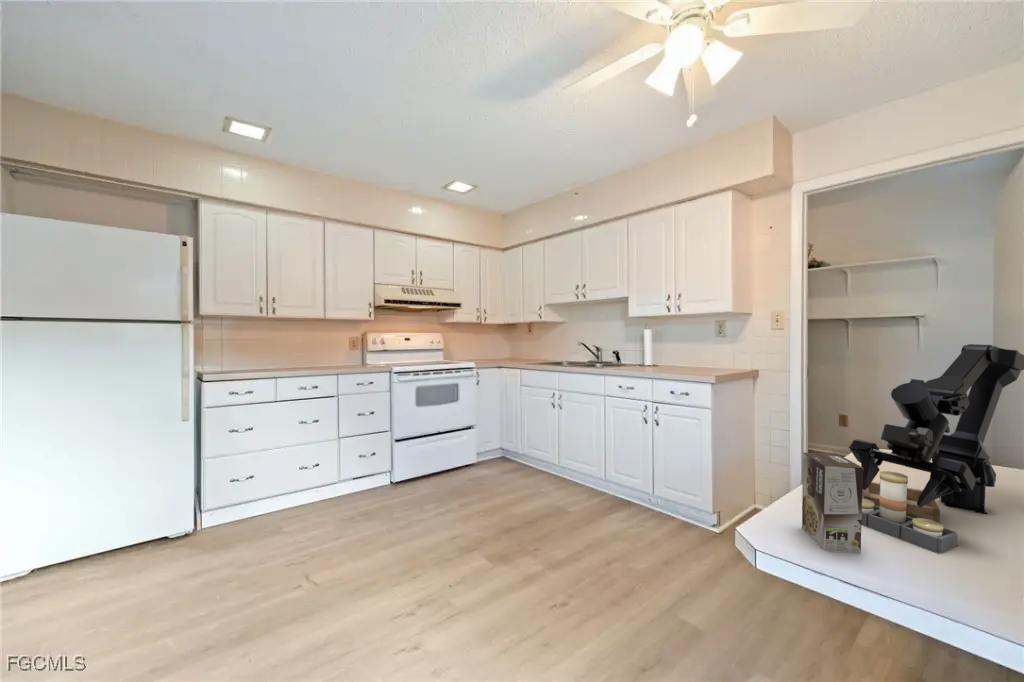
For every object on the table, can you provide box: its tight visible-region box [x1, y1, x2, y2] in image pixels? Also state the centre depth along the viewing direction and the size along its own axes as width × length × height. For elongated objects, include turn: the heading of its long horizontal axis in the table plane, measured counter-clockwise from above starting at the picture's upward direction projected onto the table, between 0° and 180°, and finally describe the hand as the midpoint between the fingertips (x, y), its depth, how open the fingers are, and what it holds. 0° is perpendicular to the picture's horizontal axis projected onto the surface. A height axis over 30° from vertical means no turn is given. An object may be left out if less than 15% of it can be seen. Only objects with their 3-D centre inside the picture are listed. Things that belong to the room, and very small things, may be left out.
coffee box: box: [801, 452, 863, 554], centre depth 83 cm, size 9×6×16 cm
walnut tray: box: [862, 481, 941, 524], centre depth 97 cm, size 12×12×4 cm
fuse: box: [912, 518, 944, 538], centre depth 82 cm, size 4×4×4 cm
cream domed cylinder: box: [862, 498, 874, 513], centre depth 92 cm, size 4×4×4 cm
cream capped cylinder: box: [879, 470, 909, 524], centre depth 87 cm, size 4×4×11 cm
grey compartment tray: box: [861, 505, 959, 555], centre depth 87 cm, size 17×7×3 cm, turn 24°
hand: (889, 496), depth 86 cm, fingers open, 9 cm apart
